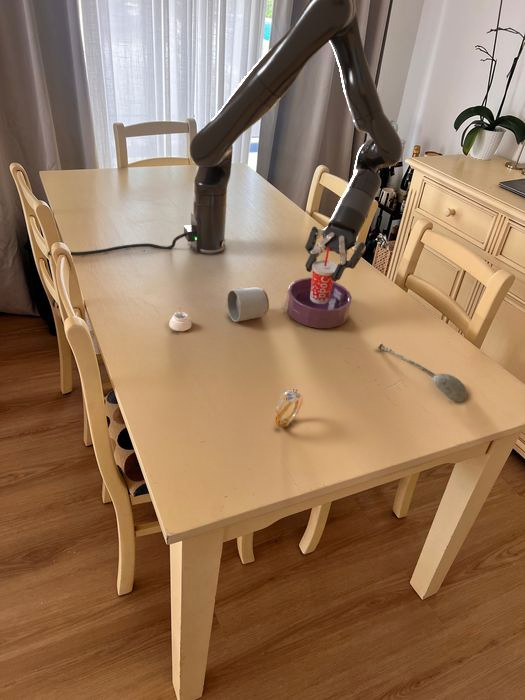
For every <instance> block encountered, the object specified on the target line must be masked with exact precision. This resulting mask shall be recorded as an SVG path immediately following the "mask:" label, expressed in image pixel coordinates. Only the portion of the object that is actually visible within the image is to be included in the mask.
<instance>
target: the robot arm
mask: <svg viewBox="0 0 525 700" xmlns="http://www.w3.org/2000/svg"><path fill="white" fill-rule="evenodd" d="M328 43H330V46H331V47H332V50H333V52H334V55H335V58H336V62H337V65H338V67H339V72H340V78H341V83H342V88H343V93H344V97H345V100H346V103H347V107H348V110H349V112H350V115H351V118H352V121H353V124H354V126H355V128H356V130H357V131H358V132H361V133H366V134H368V136H369V137H370V139H367V140H366V141H365V142H364V143H363V144H361V147H360V148H359V150H358V152H357V155H356V160H355V164H354V169H353V175H352V177H351V178H350V181H349V183H348V185H347V187H346V189H345V191H344V193H343V194H342V195H341V197H340V199H339V201H338V203H337V205H336V207H335V209H334V211H333V213H332V215H331V217H330V220H329V222H328V224H327V226H326V227H325V228H324V229H319V228H318V227H317V226H313V227H311V230H310V233H309V235H308V238H307V241H306V245H305V247H304V248H305V250H306V252H307V253H308V254H309V256H308V259H307V261H306V262H305V265H304V267H305V270H306V272H308V273H312V271H313V270H312V264H313V263H314V262H315V261H318V258H319V256H321V255H322V254H325V253H327V247H328V246H329V247H330V248H329V252H333V253H336V254H337V255H339V263H338V264H337V268H336V270H335V272H334V274H333V276H332V280H333V281H334V282H336V283H337V281H340V280H341V278H342V277H343V273H344V272H345V270H346V269H352V270H353V269H355V268H356V266H357V264H358V263H359V262H360V260H361V258H362V257H363V255H364V254H365V253H366V250H367V247H366V244H365V243H364V242H360V241H357V238H358V236H359V235H360V233H361V231H362V228H363V226H364V224H365V222H366V220H367V219H368V217H369V214H370V212H371V208H372V206H373V203H374V201H375V198H376V197H377V195H378V192H379V191H380V188H381V186H382V179H381V176H380V175H379V174H378V173H377V171H378V170H379V169H383V168H390V167H393V166H395V165H397V164H399V162H401V158H402V157H403V144H402V141H401V137H400V136H399V134H398V132H397V130H396V129H395V127H394V125H393V124H392V121H390V119H389V118H388V116H387V115H386V114H385V111H384V108H383V107H384V106H383V105H382V102H381V99H380V95H379V92H378V89H377V86H376V82H375V80H374V78H373V75H372V72H371V68H370V66H369V63H368V60H367V57H366V53H365V49H364V45H363V41H362V36H361V32H360V25H359V20H358V12H357V4H356V0H309V1H307V4H306V5H305V7H304V8H303V9H302V11H301V12H300V14H299V15H298V17H297V18H296V19H295V21H294V22H293V23H292V25H291V26H290V28H289V29H288V30H287V31H286V33H285V34H283V36H282V37H280V39H279V40H278V41H277V42H276V43H275V44H274V45H273V46H272V47H271V48H269V50H268V51H267V52H266V53H265V54H264V55H263V56H262V57H261V58H260V59H259V60H258V62H257V63H256V64H255V65H254V66H253V67H252V69H251V70H250V71H249V72H248V73H247V75H246V76H244V78H243V79H242V80H241V82H240V83H239V84H238V86H237V88H235V90H234V91H233V93H232V94H231V95H230V96H229V98H228V99H227V101H226V102H225V104H224V105H223V106H222V108H221V109H220V110H219V111H218V113H217V114H216V115H215V116H214V117H213V118H212V119H211V120H209V122H208V123H207V124H206V125H205V126H203V128H201V129H200V130H199V131H198V132H197V133H195V134H194V136H193V137H192V139H191V141H190V145H189V155H190V158H191V161H192V162H193V163H194V165H195V166H196V167H198V168H197V172H196V174H195V175H194V178H193V197H192V199H193V202H192V204H193V205H192V209H193V210H192V212H191V213H190V224H189V225H183V233H181V234H179V235H177V236H176V237H174V238H173V240H172V242H171V245H167V246H166V245H159V244H154V243H149V242H148V243H146V242H145V243H131V244H123V245H117V246H112V247H108V248H107V247H106V248H102V249H101V248H100V249H93V250H86V251H70V250H69V251H70V252H71V255H70V256H86V255H95V254H103V253H109V252H113V251H117V250H124V249H132V248H133V249H134V248H145V247H146V248H154V249H162V250H172V249H173V248H175V246H176V243H177V241H179V240H180V239H182V238H185V240H186V241H187V243H190V245H191V247H192V248H193V250H194V251H195V253H201V254H208V255H214V254H219V253H221V252H223V251H224V250H225V246H226V239H227V238H226V222H227V221H226V220H227V204H228V203H227V201H228V187H229V183H230V179H231V173H232V165H233V145H234V143H235V142H236V141H237V140H238V139H239V138H240V137H241V135H243V134H244V133H245V132H246V131H248V130H249V129H250V128H252V126H254V125H255V124H256V123H257V122H259V121H260V120H261V119H262V118H263V117H264V116H266V115H267V114H268V113H270V111H271V110H272V109H273V108H274V107H275V106H276V105H277V104H278V103H279V101H281V99H283V97H284V96H285V95H286V94H287V93H288V92H289V90H290V89H291V87H292V86H293V85H294V84H295V82H296V81H297V79H298V77H299V76H300V75H301V72H302V71H303V70H304V68H305V66H307V64H308V62H310V60H311V59H312V58H313V57H314V56H315V55H316V54H317V53H318V52H319V51H320V50H321V49H322V48H323V47H324V46H325V45H327V44H328ZM320 237H322V240H320V242H318V243H317V240H318V239H320ZM316 243H317V245H316ZM315 245H316V246H315ZM352 248H354V252H353V254H352V255H351V257H350V258H349V259H348V251H349V250H350V249H352ZM50 251H51V250H49V251H48V253H47V255H49V256H50V255H51V254H50Z"/></svg>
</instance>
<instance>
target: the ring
mask: <svg viewBox="0 0 525 700" xmlns="http://www.w3.org/2000/svg"><path fill="white" fill-rule="evenodd" d="M298 391H299V390H298V389H297V388H296V389H294V388H293V389H289V390H288V389H286V390H284V391H283V392H282V393H281V396H280V398H279V401H278V403H277V406H276V408H275V411H274V414H273V423H274V424H275V425H276V427H278V428H280V429H281V428H282V429H283V428H285V427H288V426H289V425H290V423H291V422H293V420H294V419H296V417H297V415H298V414H299V412H300V411H301V408H302V405H303V400H304V399H303V398H304V397H303V395H302V394H301V393H298ZM284 402H288V403H287V404H286V405H285V406H284V407H283V404H284ZM293 404H294V407H293V410H292V412H291V414H290V415H289V416H288V417H287V418H284V419H283V420H282V418H283V416H284V415H285V414H286V412H287V411H288V409H289V408H290V407H291V406H292V405H293ZM282 407H283V408H282ZM281 420H282V421H281Z"/></svg>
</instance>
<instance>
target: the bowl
mask: <svg viewBox="0 0 525 700" xmlns="http://www.w3.org/2000/svg"><path fill="white" fill-rule="evenodd" d="M311 282H312V277H305V278H304V277H303V278H300V279H297V280H294V281H293V282H292V283H291V284H289V286H288V288H287V295H286V301H285V310H286V313H287V314H288V316H289V317H290V318H292V319H293V320H294V321H296V322H297V323H300V324H301V325H304V326H307V327H312V328H316V329H330V328H336V327H338V326H341V325H343V324H344V323H345V322H346V321H347V320H348V316H349V311H350V309H351V303H352V295H351V292H350V291H349V290H348V289H347V288H346V287H345V286H343V285H342V284H340V283H338V282H337V281H336V282H333V286H332V290H331V293H330V297H329V301H328V302H327V303H325V304H317V303H314V302H313V301H311V300H310V292H311Z"/></svg>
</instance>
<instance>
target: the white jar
mask: <svg viewBox="0 0 525 700" xmlns="http://www.w3.org/2000/svg"><path fill="white" fill-rule="evenodd" d="M192 323H193V322H192V320H191V319H190V317H189V316H188V314H187V313H186V312H184V311H177V312H175V313H173V316H171V318H170V320H169V324H168V325H169V327H170V329H172V330H173V331H177V332H184V331H187V330H190V329H191V328H192Z"/></svg>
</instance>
